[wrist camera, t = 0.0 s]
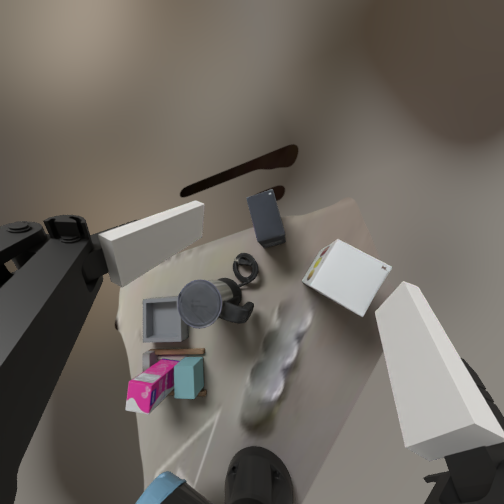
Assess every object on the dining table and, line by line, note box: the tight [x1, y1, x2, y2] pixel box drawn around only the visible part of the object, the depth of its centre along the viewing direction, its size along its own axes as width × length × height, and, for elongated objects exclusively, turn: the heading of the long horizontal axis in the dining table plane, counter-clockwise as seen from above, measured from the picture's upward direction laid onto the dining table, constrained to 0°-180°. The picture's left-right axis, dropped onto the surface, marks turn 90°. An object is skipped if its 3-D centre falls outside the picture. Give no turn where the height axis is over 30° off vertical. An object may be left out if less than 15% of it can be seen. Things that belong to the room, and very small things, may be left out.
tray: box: [143, 296, 189, 342], centre depth 50 cm, size 11×11×4 cm
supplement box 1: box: [126, 359, 180, 414], centre depth 44 cm, size 6×6×12 cm
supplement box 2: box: [302, 239, 392, 317], centre depth 37 cm, size 10×9×17 cm
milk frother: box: [178, 253, 258, 329], centre depth 42 cm, size 14×16×15 cm
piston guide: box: [143, 348, 207, 396], centre depth 48 cm, size 11×16×3 cm
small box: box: [247, 189, 286, 248], centre depth 44 cm, size 11×6×10 cm, turn 14°
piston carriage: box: [174, 357, 204, 399], centre depth 46 cm, size 7×5×5 cm
